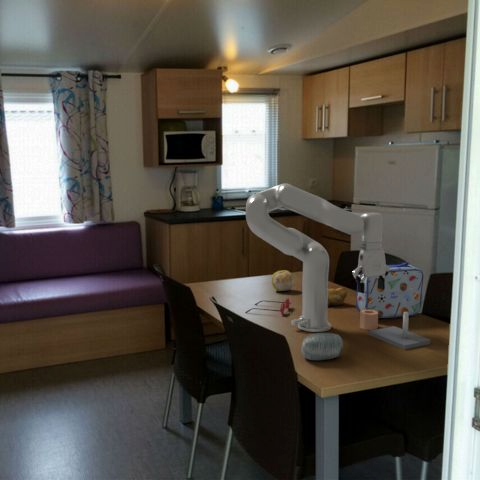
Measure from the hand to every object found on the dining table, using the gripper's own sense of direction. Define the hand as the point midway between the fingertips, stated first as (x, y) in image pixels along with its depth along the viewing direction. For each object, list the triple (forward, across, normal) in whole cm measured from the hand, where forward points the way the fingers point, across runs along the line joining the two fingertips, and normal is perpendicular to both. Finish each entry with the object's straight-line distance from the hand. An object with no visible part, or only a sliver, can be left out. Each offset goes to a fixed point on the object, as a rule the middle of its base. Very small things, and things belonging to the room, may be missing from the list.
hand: (371, 290), depth 216 cm
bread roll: (+14, +7, +34) cm, 38 cm away
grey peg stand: (+14, -1, -16) cm, 21 cm away
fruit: (+14, +1, +64) cm, 66 cm away
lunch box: (+15, +17, +8) cm, 24 cm away
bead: (+14, -1, 0) cm, 14 cm away
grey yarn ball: (+14, -36, -18) cm, 42 cm away
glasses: (+14, -22, +39) cm, 47 cm away
